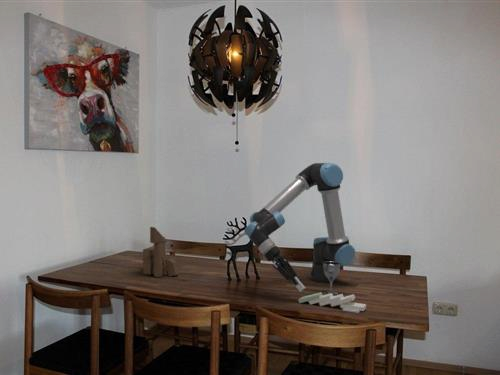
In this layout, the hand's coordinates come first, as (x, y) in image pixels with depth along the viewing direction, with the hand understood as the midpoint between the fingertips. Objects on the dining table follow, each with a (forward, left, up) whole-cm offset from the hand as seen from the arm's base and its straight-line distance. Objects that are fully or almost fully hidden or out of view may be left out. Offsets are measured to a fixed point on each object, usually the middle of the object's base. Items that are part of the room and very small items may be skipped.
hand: (302, 289), depth 209 cm
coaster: (0, +23, -6) cm, 24 cm away
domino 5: (0, +18, -4) cm, 19 cm away
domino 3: (0, +9, -5) cm, 10 cm away
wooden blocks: (-15, -88, -6) cm, 90 cm away
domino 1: (0, -1, -5) cm, 5 cm away
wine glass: (-20, +8, -6) cm, 22 cm away
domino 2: (0, +4, -5) cm, 6 cm away
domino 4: (0, +14, -4) cm, 15 cm away
